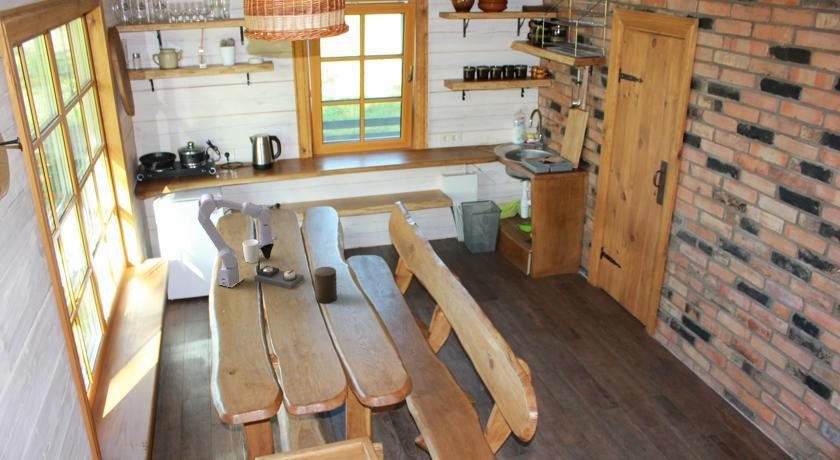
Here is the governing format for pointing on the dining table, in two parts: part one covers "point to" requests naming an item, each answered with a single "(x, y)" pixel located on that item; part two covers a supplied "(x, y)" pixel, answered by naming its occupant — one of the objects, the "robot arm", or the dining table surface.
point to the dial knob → (289, 274)
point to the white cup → (250, 251)
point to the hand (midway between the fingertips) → (267, 258)
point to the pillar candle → (325, 284)
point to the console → (277, 278)
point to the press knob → (268, 269)
